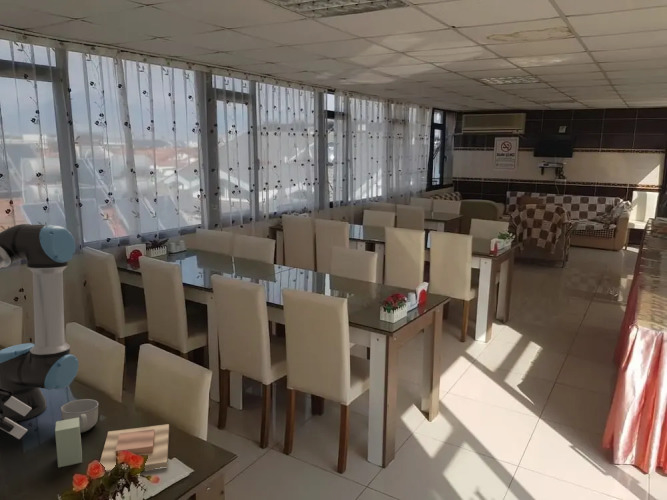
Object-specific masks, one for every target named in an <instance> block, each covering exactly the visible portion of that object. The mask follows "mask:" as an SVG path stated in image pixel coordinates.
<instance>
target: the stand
mask: <svg viewBox="0 0 667 500" xmlns="http://www.w3.org/2000/svg"><path fill="white" fill-rule="evenodd" d="M169 438H170V424H168V423H167V424H166V423H165V424H159V425H158V424H157V425H150V426H144V427H143V426H141V427H136V428H126V429H119V430H111V431H110V430H109V431H107V436H106V439H105V443H104V446H103V450H102V453H101V457H100V460H99V464H100V463H101V464H102V465H103V466H104V467H105V470H106V472H110V471H111V470H112V469H113V468H114V467H115V465H116V454H117V452H118V451H121V450H129V451H131V452H133V453H135V454H138V455H148V459H147V461H146V463H145V467H144V468H145V470H152V469H155V468H160V467H167V468H168V464H167V461H169V460H168V459H169V443H170V442H169V440H170V439H169Z"/></svg>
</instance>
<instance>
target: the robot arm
mask: <svg viewBox="0 0 667 500" xmlns="http://www.w3.org/2000/svg"><path fill="white" fill-rule="evenodd" d="M76 248H77V247H76V241H75V238H74V236H73V234H72V233H71V232H70V231H69V230H68V228H65V227H64V226H60V225H54V224H30V223H21V224H16V225H13V226H11V227H9V228H7V229H5V230H2V231H1V232H0V269H1V268H7V267H10V265H12V264H13V263H15V262H17V261H21V260H25V261H26V268H27V269H28V270H29V271H31V273H32V290H33V291H32V294H33V321H34V323H33V324H34V343H33V342H32V343H31V342H28V343H20V344H15V345H12V346H8V347H5V348H3V349H0V429H1V430H2V431H4V432H6V433H8V434H9V435H10V436H11V435H12V436H13V437H14V438H16V439H18V440H21V438H22V437H23V436H25V434H26V433H27V432H28V429H27V428H25V427H24V426H22V425H20V424H18V423H17V422H20V421H25V420H28V419H31V418H35V417H36V416H39V415H40V414H41V413H43V412H44V411H46V409H47V400H46V398H45V396H44V394H43V392H42V389H45V390H48V391H50V390H51V391H52V390H54V391H58V390H59V391H60V390H64V389H65V388H67V387H69V386H70V385H71V383H73V381H74V379H76V377H77V374H78V372H79V366H80V365H79V364H80V363H79V359H78V358H77V356H76V355H74V354H71V346H70V344H69V343H68V342H66V340H65V339H66V338H65V337H66V336H65V312H64V311H65V303H64V274H63V273H64V272H63V271H65V269H66V268H67V267H68V262H69V261H71V259H73V257H74V254H75V253H76Z"/></svg>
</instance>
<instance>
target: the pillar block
mask: <svg viewBox="0 0 667 500" xmlns="http://www.w3.org/2000/svg"><path fill="white" fill-rule="evenodd" d="M54 433H55V443H56V444H55V445H56V447H55V448H56V457H57V467H58V468H61V467H66V466H67V467H68V466H72V465H76V464H81V463H83V450H82V438H81V433H80V422H79V417H78V418H73V419H67V420H62V419H61V420H57V421H55V429H54Z"/></svg>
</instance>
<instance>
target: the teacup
mask: <svg viewBox="0 0 667 500" xmlns="http://www.w3.org/2000/svg"><path fill="white" fill-rule="evenodd" d="M60 412H61V413H60V414H61V421H62V420H67V419H73V418H78V417H79V422H80V434H81V433H85V432H87V431H90V430H91V429H92V428H93V427H94V426H95V425H96V423H98V420H99V419H98V417H99V402H98V401H97V400H95V399H90V398H84V399H82V398H81V399H75V400H71V401H69V402H66V403H65V404H63V405H62V406H61V407H60Z"/></svg>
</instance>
